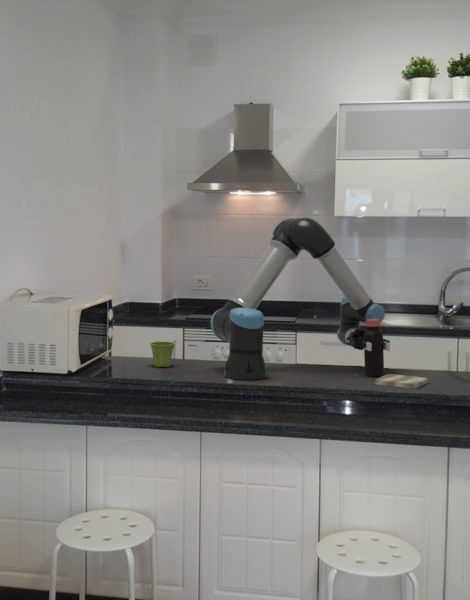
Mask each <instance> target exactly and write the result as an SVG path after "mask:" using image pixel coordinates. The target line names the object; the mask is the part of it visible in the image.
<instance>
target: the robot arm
mask: <svg viewBox="0 0 470 600" xmlns="http://www.w3.org/2000/svg"><path fill="white" fill-rule="evenodd" d="M269 245H270V248H269V249H268V250H267V251H266V254H265V255H264V256H263V258H262V259H261V261H260V262H259V263H258V264H257V267H256V268H255V269H254V270H253V272H252V274H251V275H250V276H249V278H248V279H247V281H246V282H245V284H243V286H242V288H241V289H240V291H239V292H238V294H237V295H236V296H235V297H234V298H229V299H228V300H227V302H226V303H225V304H224V306H223V307H221V308H219V309H217V310H216V311H214V313H213V314H212V315H211V319H210V329H211V332H212V333H213V334H214V336H215V337H216V338H218V339H220V340H221V341H223V342H229V349H228V350H229V353H228V357H227V360H226V363H225V366H224V369H223V377H225V378H228V379H230V380H231V379H232V380H239V381H240V380H243V381H253V380H256V381H258V380H262V379H266V378H268V369H267V364H266V361H265V358H264V354H263V351H264V350H263V349H264V324H265V320H264V314H263V312H261V310H258V309H257V308H258V307H259V305H260V304H261V302H262V301H263V299H264V298H265V296H266V295H267V294H268V292H269V290H270V289H271V288H272V286H273V285H274V284H275V282H276V281H277V279H278V278H279V276H280V275H281V273H283V271H284V269H285V268H286V266H287V265H288V264H289V262H290V261H294V260H296V259H297V257H298V256H299V254H301V252H302V251H306V252H307V253H308V254H310V256H311V257H312V259H314V260H318V262H319V263H320V265H321V267H323V269H324V270H325V271H326V273H327V274H328V275H329V277H330V278H331V279H332V281H333V283H335V285H336V287H338V289H339V291H340V292H341V293H342V295H343V296H342V297H341V298H340V299H341V303H340V325H339V328H338V330H337V331H336V336H337V337H336V338H337V339H338V341H340V342H341V343H342V344H344V345H346V346H350V347H352V348H353V349H354V350H359V351H363V350H364V349H366V350H368V351H371V349H372V343H370V342H366V344H365V343H364V333H365V332H366V331H367V330H363V329H361V328H360V326H361V325H360V324H361V323H365V324H366V320H367V319H380V323H382V322H383V320H384V319H385V316H386V312H385V308H384V307H383V306H382V305H380V304H379V303H375V302H374V300H373V299H372V298H371V296H370V295H369V294H368V292H367V291H366V289H365V288H364V286H363V285H362V283H360V281H359V279H358V278H357V277H356V275H355V274H354V272H353V271H352V269H351V268H350V267H349V265H348V264H347V262H346V261H345V259H344V258H343V257H342V256H341V254H340V253H339V250H337V249H336V242H335V241H334V239H333V238H332V236H331V235H330V234H329V233H328V232H327V230H326V229H325V227H323V226H322V225H321V224H320V223H319V222H318V221H316V220H315V219H313V218H309V217H297V218H294V217H291V218H286V219H282V220H281V221H279V222H278V223H277V224H276V225H275V226H274V228H273V231H272V238H271V239H270V241H269ZM390 342H391V341H390V340H388V339H386V338H383V351H384V350H385V351H387V352H390V351H391V350H390V349H391V343H390Z"/></svg>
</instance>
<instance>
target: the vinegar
mask: <svg viewBox="0 0 470 600" xmlns="http://www.w3.org/2000/svg"><path fill="white" fill-rule="evenodd" d="M365 326H366V330H365V331H366V332H365V333H364V343H365V344H366V342H370V343H372V349H371V351H368V350H366V349H363V350H364V351H363V352H364V353H363V355H364V375H365V376H367V377H368V378H369V377H370V378H372V377H373V378H377V377H378V378H380V377H382V376H385V361H384V360H385V359H384V356H385V355H384V354H385V353H384V349H383V339H384V333H383V331H382V330H381V329H380V327H381V322H380V319H367V320H366V323H365Z"/></svg>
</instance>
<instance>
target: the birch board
mask: <svg viewBox="0 0 470 600" xmlns="http://www.w3.org/2000/svg"><path fill="white" fill-rule="evenodd" d="M428 383H429V377H420V376H412V375H403V374H394V373H387V374H384V375H383V376H379V377H378V378H376V379H374V384H375V385H379V386H387V387H388V386H389V387H395V388H397V387H398V388H406V389H413V390H417V389H419V388H421V387H423V386H425V385H426V384H428Z"/></svg>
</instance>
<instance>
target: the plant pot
mask: <svg viewBox="0 0 470 600" xmlns="http://www.w3.org/2000/svg"><path fill="white" fill-rule="evenodd" d="M149 345H150V348H151V352H152V361H153V366H154V367H156V368H162V367H163V368H169V367H171V363H172V357H173V351H174V349H175V348H174V347H175V345H176V342H172V341H152V342H150V343H149Z"/></svg>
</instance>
